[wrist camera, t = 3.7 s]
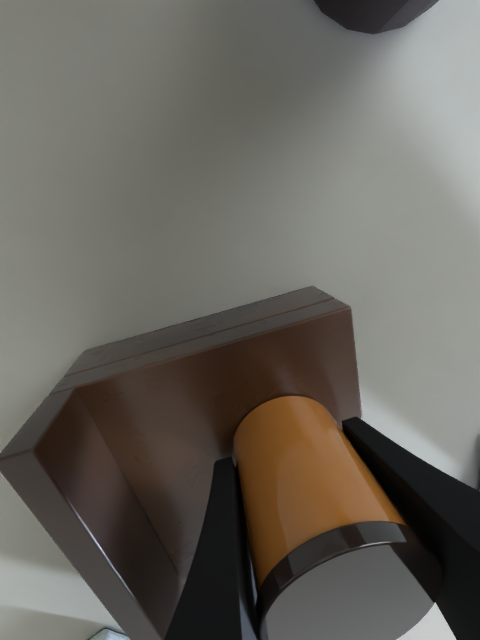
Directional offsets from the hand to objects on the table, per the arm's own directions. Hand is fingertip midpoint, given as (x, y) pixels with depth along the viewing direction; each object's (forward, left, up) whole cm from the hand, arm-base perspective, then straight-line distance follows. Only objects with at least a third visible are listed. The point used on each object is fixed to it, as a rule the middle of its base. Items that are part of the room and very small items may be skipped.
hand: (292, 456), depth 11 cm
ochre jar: (0, 0, -1) cm, 1 cm away
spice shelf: (+2, +6, -4) cm, 8 cm away
